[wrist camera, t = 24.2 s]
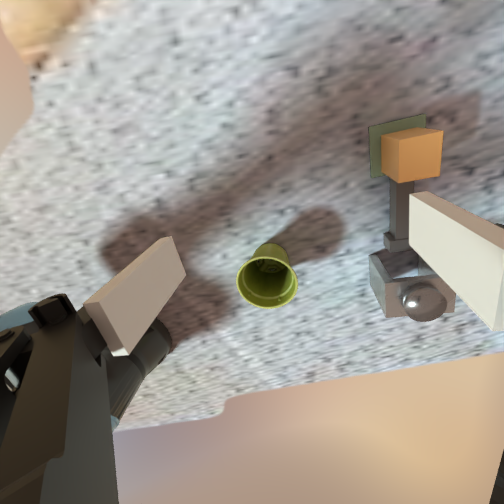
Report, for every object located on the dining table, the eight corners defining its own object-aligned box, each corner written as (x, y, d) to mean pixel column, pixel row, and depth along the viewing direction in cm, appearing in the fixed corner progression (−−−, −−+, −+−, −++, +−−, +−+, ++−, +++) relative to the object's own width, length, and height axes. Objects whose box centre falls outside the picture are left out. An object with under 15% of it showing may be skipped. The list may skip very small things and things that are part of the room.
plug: (382, 244, 43) (396, 266, 37) (381, 135, 36) (399, 140, 30) (411, 240, 42) (432, 262, 36) (417, 127, 35) (443, 130, 29)
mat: (370, 177, 39) (371, 178, 39) (368, 127, 36) (369, 127, 36) (422, 167, 38) (424, 167, 37) (424, 113, 35) (426, 113, 34)
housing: (370, 284, 47) (390, 327, 37) (368, 255, 45) (389, 291, 35) (425, 278, 45) (462, 321, 35) (426, 247, 43) (466, 284, 33)
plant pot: (301, 277, 48) (302, 305, 41) (251, 283, 50) (244, 311, 43) (292, 230, 45) (292, 252, 37) (239, 239, 47) (229, 261, 39)
